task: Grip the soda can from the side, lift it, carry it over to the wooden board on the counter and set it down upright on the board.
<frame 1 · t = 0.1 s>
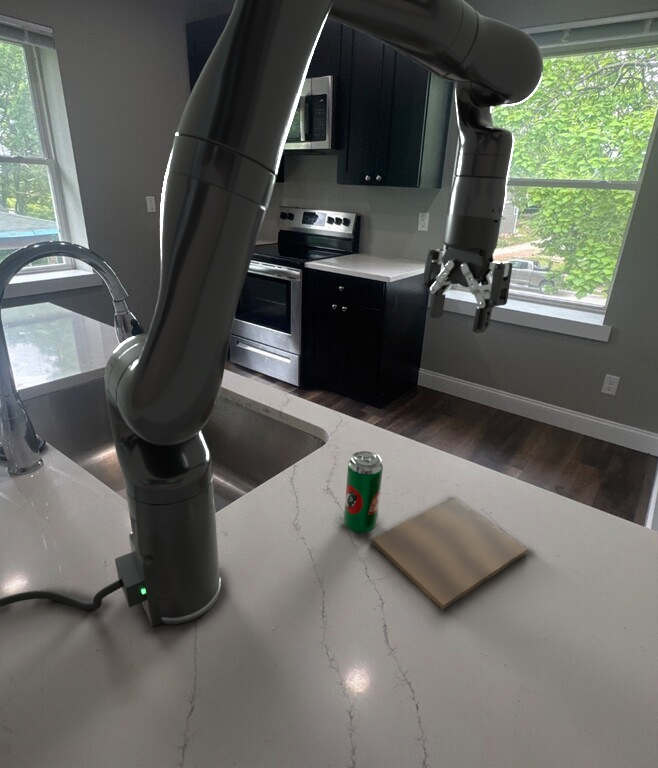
hand: (456, 324, 72), 29 cm above the worktop, tool pointing down, fingers open, 8 cm apart
soda can: (359, 525, 72), on the worktop
wooden board: (448, 548, 68), on the worktop
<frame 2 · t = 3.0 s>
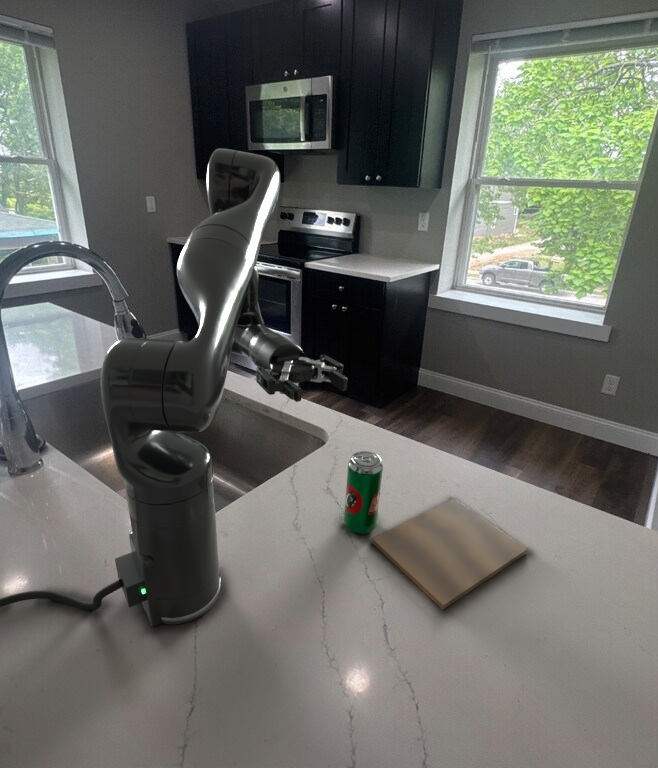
hand: (323, 390, 73), 18 cm above the worktop, tool horizontal, fingers open, 8 cm apart
nothing on the worktop moved.
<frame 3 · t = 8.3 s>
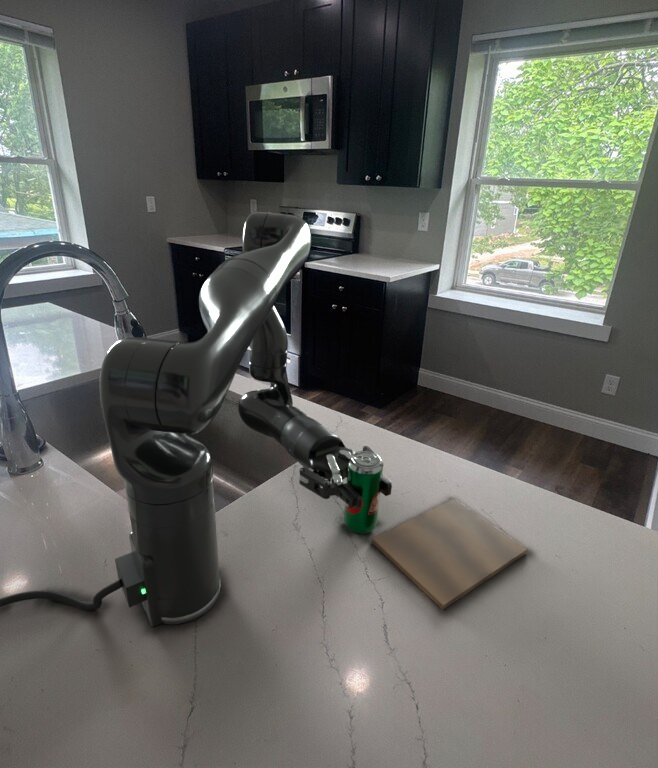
hand: (374, 496, 67), 7 cm above the worktop, tool horizontal, fingers closed on soda can, 5 cm apart
soda can: (359, 525, 72), on the worktop, touching gripper
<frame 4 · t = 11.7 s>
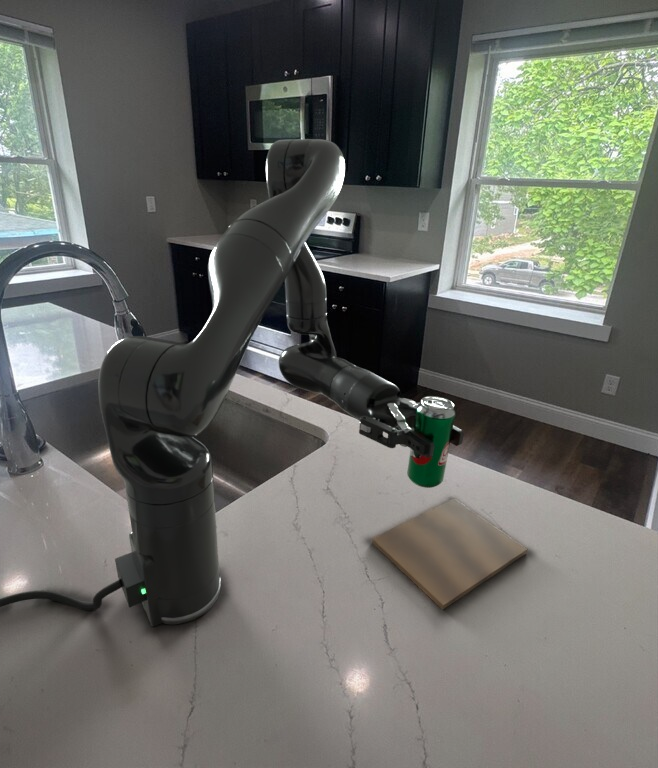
hand: (446, 444, 61), 18 cm above the worktop, tool horizontal, fingers closed on soda can, 5 cm apart
soda can: (424, 480, 66), point 11 cm above the worktop, touching gripper
when the fingers open (8 cm above the worktop, at t = 15.5 s): soda can stays where it is, resting on wooden board.
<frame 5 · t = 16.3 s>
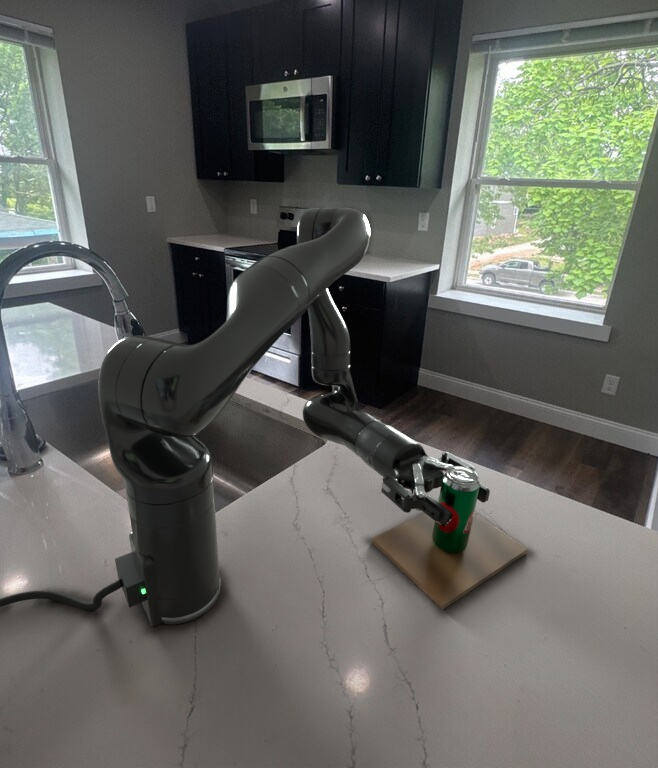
hand: (467, 506, 64), 9 cm above the worktop, tool horizontal, fingers open, 8 cm apart
soda can: (448, 544, 68), point 1 cm above the worktop, touching wooden board
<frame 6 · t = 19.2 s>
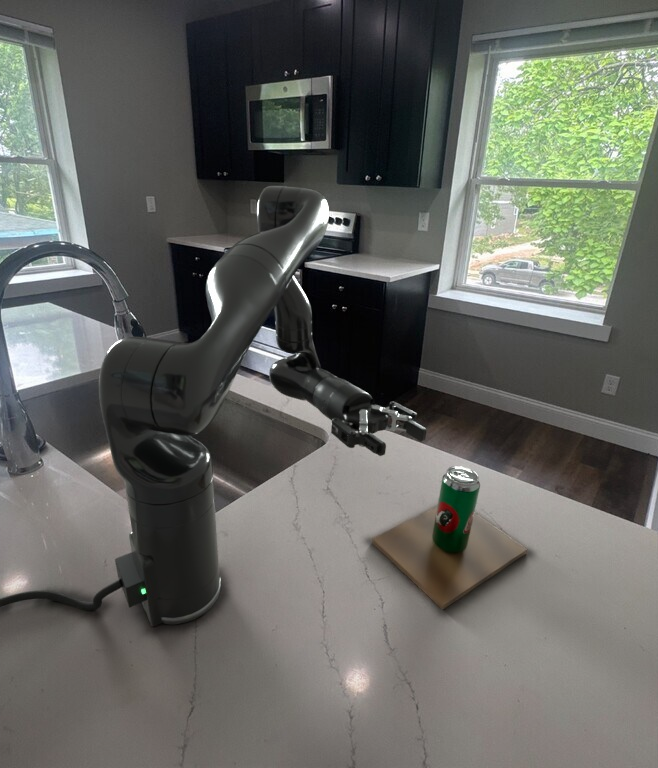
hand: (404, 442, 72), 12 cm above the worktop, tool horizontal, fingers open, 8 cm apart
nothing on the worktop moved.
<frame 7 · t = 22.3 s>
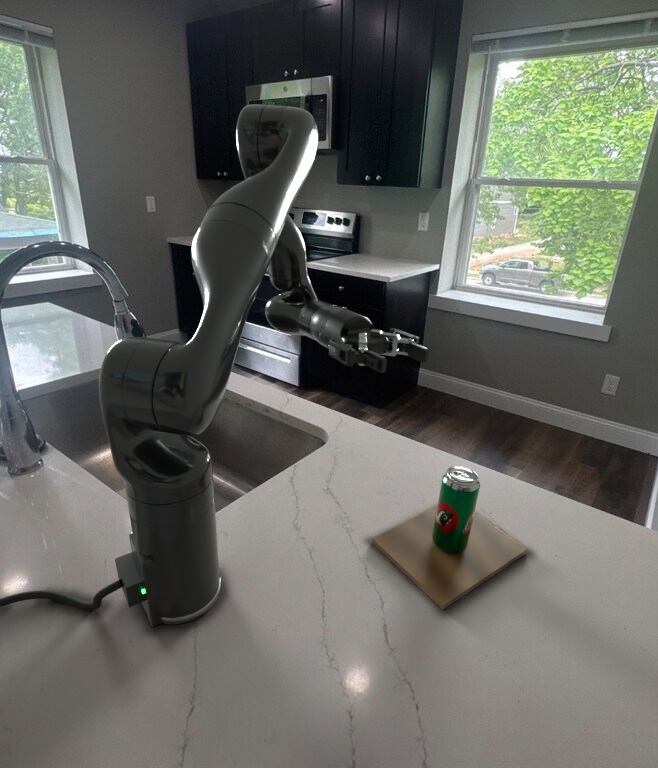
hand: (406, 361, 68), 25 cm above the worktop, tool horizontal, fingers open, 8 cm apart
nothing on the worktop moved.
at the end: soda can inside the target area on the wooden board (0.1 cm from its centre), point 0.6 cm above the wooden board's base; soda can tilted 0°; the gripper is holding nothing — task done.
